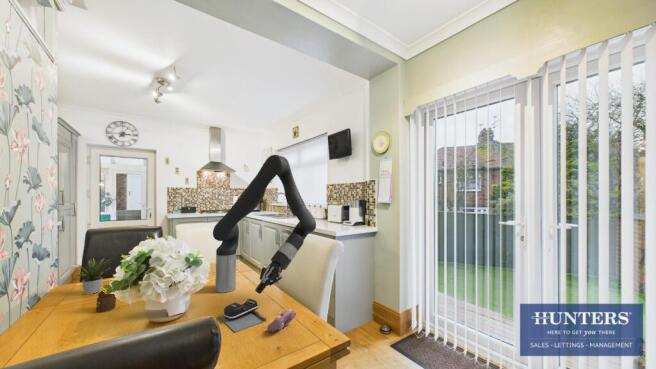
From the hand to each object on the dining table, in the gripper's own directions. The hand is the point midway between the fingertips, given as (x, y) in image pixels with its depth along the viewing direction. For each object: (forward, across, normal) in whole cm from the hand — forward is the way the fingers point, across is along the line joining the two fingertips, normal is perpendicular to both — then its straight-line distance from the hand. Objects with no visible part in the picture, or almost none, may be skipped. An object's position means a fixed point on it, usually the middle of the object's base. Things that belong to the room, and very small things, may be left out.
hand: (257, 292), depth 99 cm
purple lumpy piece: (+5, +15, +8) cm, 17 cm away
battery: (+3, -5, +5) cm, 7 cm away
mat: (+10, 0, +2) cm, 11 cm away
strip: (+6, 0, +6) cm, 8 cm away
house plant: (+39, -72, -26) cm, 86 cm away
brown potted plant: (+36, -45, -24) cm, 63 cm away
